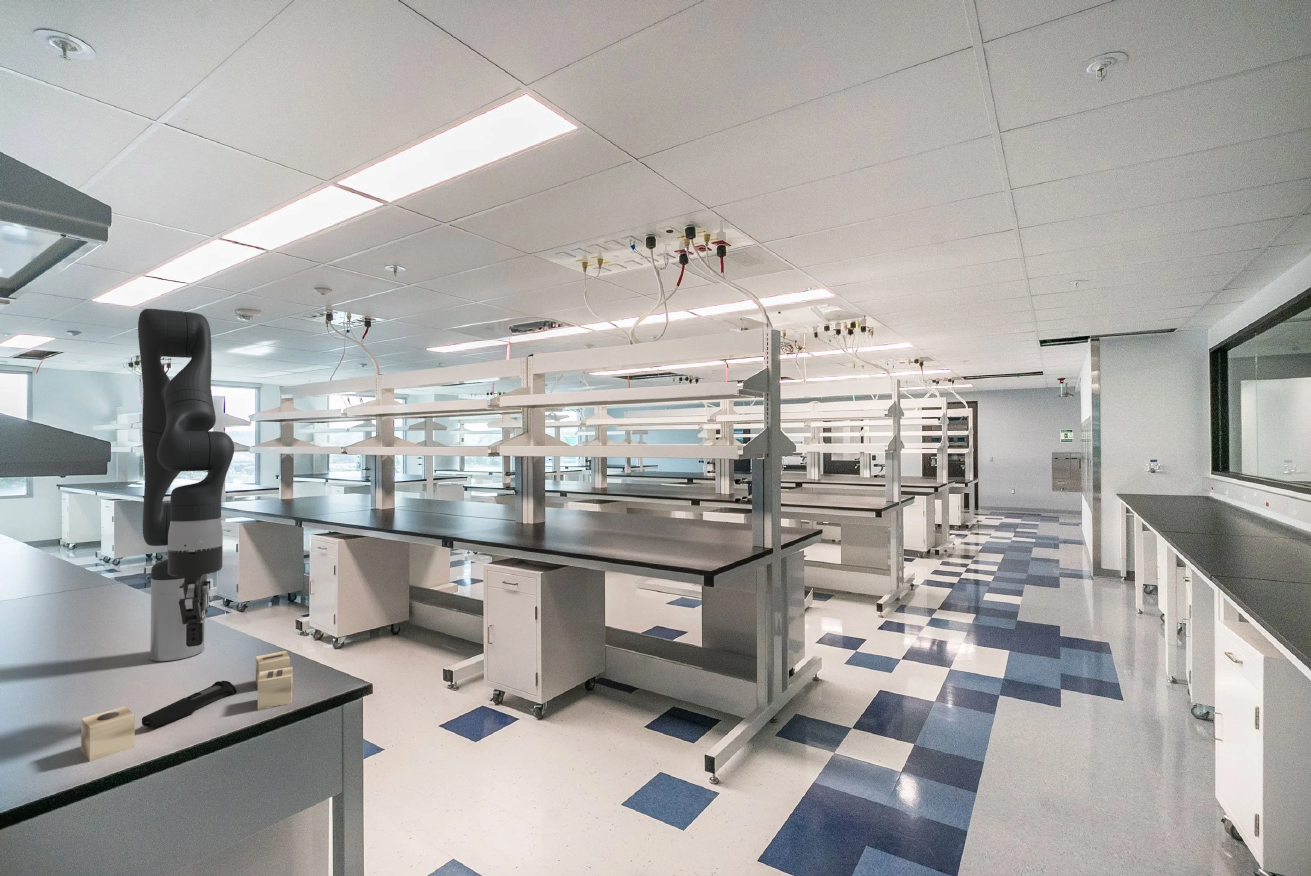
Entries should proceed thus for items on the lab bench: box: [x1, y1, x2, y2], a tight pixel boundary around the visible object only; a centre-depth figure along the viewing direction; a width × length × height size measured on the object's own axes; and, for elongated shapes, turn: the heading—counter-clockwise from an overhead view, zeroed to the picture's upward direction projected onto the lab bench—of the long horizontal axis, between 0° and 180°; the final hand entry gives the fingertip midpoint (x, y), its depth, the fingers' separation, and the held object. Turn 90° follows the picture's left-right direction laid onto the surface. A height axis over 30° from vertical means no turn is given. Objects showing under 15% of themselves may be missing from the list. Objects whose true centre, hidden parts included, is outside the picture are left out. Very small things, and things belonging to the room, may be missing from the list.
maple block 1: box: [80, 705, 136, 762], centre depth 89 cm, size 5×5×5 cm
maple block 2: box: [255, 650, 291, 688], centre depth 114 cm, size 5×5×5 cm
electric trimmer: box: [141, 680, 238, 728], centre depth 102 cm, size 4×16×3 cm, turn 169°
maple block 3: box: [257, 666, 294, 711], centre depth 105 cm, size 5×5×5 cm
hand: (194, 644), depth 102 cm, fingers closed
